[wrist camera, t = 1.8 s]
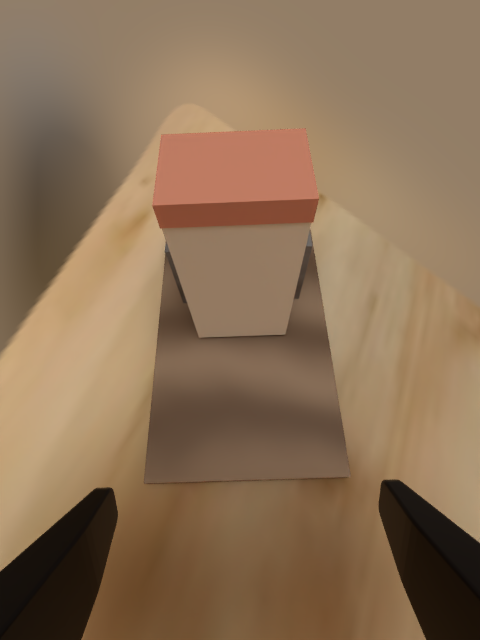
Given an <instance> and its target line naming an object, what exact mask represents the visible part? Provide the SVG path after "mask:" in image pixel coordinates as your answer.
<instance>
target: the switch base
mask: <svg viewBox="0 0 480 640" xmlns="http://www.w3.org/2000/svg"><path fill="white" fill-rule="evenodd" d="M341 477H351V474H350V468H349V462H348V456H347V450H346V444H345V437H344V431H343V425H342V419H341V413H340V407H339V401H338V395H337V389H336V382H335V376H334V370H333V364H332V358H331V352H330V346H329V340H328V334H327V327H326V321H325V315H324V309H323V303H322V297H321V291H320V285H319V279H318V272H317V266H316V260H315V254H314V248H313V242H312V236H311V230H310V231H309V236H308V240H307V244H306V248H305V253H304V257H303V261H302V265H301V270H300V274H299V278H298V283H297V287H296V291H295V295H294V300H293V304H292V308H291V312H290V317H289V321H288V325H287V330H286V334H285V335H260V336H232V337H204V338H199V336H198V333H197V330H196V327H195V324H194V321H193V318H192V315H191V312H190V309H189V307H188V304H187V301H186V298H185V295H184V292H183V289H182V286H181V283H180V280H179V277H178V274H177V271H176V268H175V265H174V262H173V259H172V256H171V254H170V251H169V248H168V245H167V242H166V246H165V264H164V275H163V285H162V296H161V306H160V317H159V328H158V338H157V349H156V359H155V370H154V381H153V391H152V402H151V413H150V423H149V434H148V444H147V455H146V466H145V476H144V483H147V484H150V483H182V482H214V481H246V480H278V479H310V478H341Z"/></svg>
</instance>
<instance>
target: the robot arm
mask: <svg viewBox="0 0 480 640" xmlns="http://www.w3.org/2000/svg"><path fill="white" fill-rule="evenodd" d="M379 512H380V516H381V519H382V522H383V526H384V529H385V532H386V535H387V538H388V541H389V544H390V547H391V550H392V553H393V557H394V560H395V563H396V566H397V569H398V572H399V575H400V578H401V581H402V583H403V586H404V588H405V591H406V593H407V596H408V598H409V600H410V603H411V605H412V607H413V610H414V612H415V614H416V617H417V619H418V621H419V624H420V626H421V628H422V631H423V633H424V635H425V638H426V640H480V543H479V542H478V541H477V540H475V539H474V538H473V537H471V536H470V535H469V534H468V533H466V532H465V531H464V530H463V529H461V528H460V527H459V526H457V525H456V524H455V523H454V522H452V521H451V520H450V519H449V518H447V517H446V516H445V515H443V514H442V513H441V512H440V511H438V510H437V509H436V508H435V507H433V506H432V505H431V504H429V503H428V502H427V501H426V500H424V499H423V498H422V497H421V496H419V495H418V494H417V493H415V492H414V491H413V490H412V489H410V488H409V487H408V486H407V485H405V484H404V483H403V482H401V481H400V480H383V481H382V483H381V489H380V497H379ZM117 518H118V511H117V505H116V500H115V495H114V491H113V489H112V488H110V487H106V488H96V489H94V490H93V491H92V492H91V493H89V494H88V495H87V496H86V497H85V498H84V499H83V500H81V501H80V502H79V503H78V504H77V505H76V506H75V507H73V508H72V509H71V510H70V511H69V512H68V513H67V514H65V515H64V516H63V517H62V518H61V519H60V520H59V521H57V522H56V523H55V524H54V525H53V526H52V527H51V528H49V529H48V530H47V531H46V532H45V533H44V534H43V535H41V536H40V537H39V538H38V539H37V540H36V541H35V542H33V543H32V544H31V545H30V546H29V547H28V548H27V549H25V550H24V551H23V552H22V553H21V554H20V555H19V556H17V557H16V558H15V559H14V560H13V561H12V562H11V563H9V564H8V565H7V566H6V567H5V568H4V569H3V570H1V571H0V640H81V639H82V636H83V633H84V630H85V627H86V625H87V622H88V619H89V616H90V614H91V611H92V608H93V605H94V603H95V600H96V597H97V594H98V591H99V588H100V584H101V580H102V577H103V573H104V569H105V565H106V562H107V558H108V554H109V550H110V546H111V542H112V539H113V535H114V531H115V527H116V523H117Z"/></svg>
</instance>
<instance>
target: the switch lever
mask: <svg viewBox="0 0 480 640" xmlns="http://www.w3.org/2000/svg"><path fill="white" fill-rule="evenodd" d="M318 200H319V197H318V191H317V186H316V181H315V175H314V170H313V165H312V160H311V155H310V150H309V144H308V139H307V134H306V129H305V128H304V129H280V130H259V131H234V132H210V133H187V134H164V135H161V142H160V149H159V157H158V165H157V173H156V181H155V189H154V196H153V204H152V206H153V209H154V212H155V215H156V217H157V220H158V223H159V226H160V228H162V230H163V233H164V236H165V239H166V242H167V245H168V248H169V251H170V254H171V256H172V259H173V262H174V265H175V268H176V271H177V274H178V277H179V280H180V283H181V286H182V289H183V292H184V295H185V298H186V301H187V304H188V307H189V309H190V312H191V315H192V318H193V321H194V324H195V327H196V330H197V333H198V336H199V338H204V337H232V336H260V335H285V334H286V330H287V325H288V321H289V317H290V312H291V308H292V304H293V300H294V295H295V291H296V287H297V283H298V278H299V274H300V270H301V265H302V261H303V257H304V253H305V248H306V244H307V240H308V236H309V231H310V227H311V223H312V222H313V221H314V217H315V213H316V209H317V205H318Z"/></svg>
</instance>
